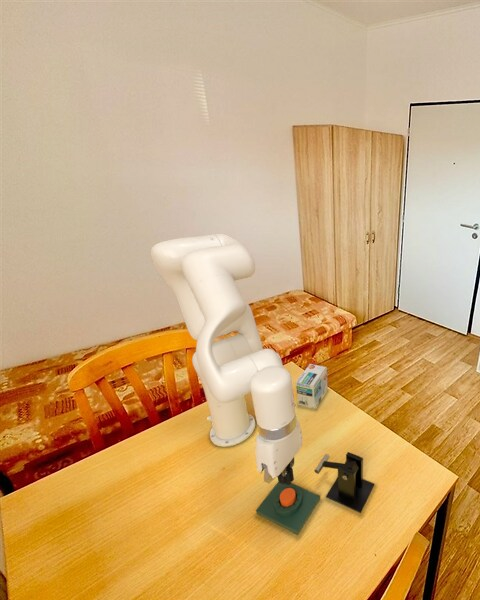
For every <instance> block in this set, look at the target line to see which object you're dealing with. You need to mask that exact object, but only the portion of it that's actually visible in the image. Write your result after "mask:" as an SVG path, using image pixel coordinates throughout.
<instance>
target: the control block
mask: <svg viewBox="0 0 480 600" xmlns="http://www.w3.org/2000/svg"><path fill="white" fill-rule="evenodd" d="M287 488H292V489H294V490H295V494H296V500H295V502H294V503H293V504H292V505H291V506H289V507H284V506H282V505H281V503H280V494H281V492H282V491H283V490H285V489H287ZM320 501H321V495H318V494H316V493H315V492H312V491H310V490H308V489H305V488H303V487H301V486H300V485H297V484H295V483H293V482H291V484H290V485H286V484H281V483H279V481H277V482H276V484H275V486H273V488H272V489H271V490H270V492H269V493H268V494H267V496H266V497H265V498H264V499H263V500H262V502H261V503H260V505H259V506H258V507H257V508H256V510H255V513H256V515H258V516H260V517H262V518H264V519H266V520H268V521H269V522H272V523H273V524H275V525H277V526H278V527H281V528H283V529H285V530H287V531H288V532H290V533H292V534H295V535H296V536H299V535H300V533H301V532H302V530H303V528H304V526H305V525H306V523H307V521H308V520H309V518H310V517H311V515H312V514H313V512H314V510H315V509H316V507H317V505H318V504H319V503H320Z"/></svg>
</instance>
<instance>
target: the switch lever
mask: <svg viewBox="0 0 480 600" xmlns="http://www.w3.org/2000/svg"><path fill="white" fill-rule="evenodd" d="M330 457H331V456H330V454H328V453H325V454H324V456H323V457H322V459H321V460H320V461H319V462H318V464H317V465H316V467H315V469H314V471H313V472H314V473H315V474H317V475H319V474H320V473H321V472H322V470H323V468H328V469H335V470H338V467H339V465H342V466H344V467H347V468H349V469H351V470H354V471H356V472H357V470H358V469H359V468H358V465H357V463H356V461H351V460H347V461H346V460H345V462H343V463H342V462H335V461H329V460H330Z"/></svg>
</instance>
